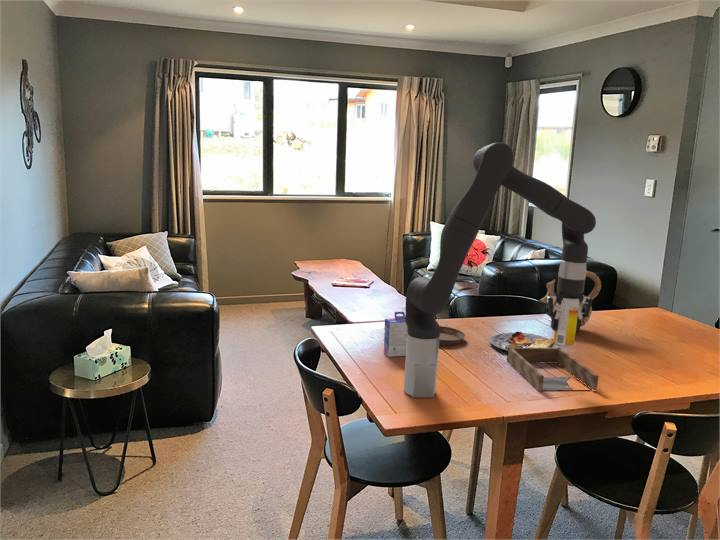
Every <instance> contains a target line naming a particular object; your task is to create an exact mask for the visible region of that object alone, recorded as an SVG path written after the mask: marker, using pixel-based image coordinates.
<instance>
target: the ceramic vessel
mask: <svg viewBox="0 0 720 540" xmlns="http://www.w3.org/2000/svg"><path fill="white" fill-rule="evenodd" d="M585 278H589V279H590V280H591V281H593V283H594V287H593V289H592V291H591V292H590V293H589V294H588V296H586V295H585V294H583V297H589V298H591V299H592V301H593V300H594V299H595V298H596V297H597V296H598V295H599V293H600V292H601V289H602V281H601V279H600V278H599V276H598V275H597V274H596V273H594V272H592V271H589V270H586V277H585ZM555 283H556V278H555V279H553V280H552V281H549V282H546V284H545V287H546V289H547V293H546V295H545V296H544V297H542V298H541V299H539V301H540V302H541V303H544V304H546V296H550V297H551V296H555V295H556V293H555ZM556 304H557V301H556V300H555V302H554V304H553V311H554V308H555V306H556ZM579 306H580V309H581V311H582V307H583V301H582V302H581V303H580V305H579ZM592 312H593V307H592V306H591V308H590V312H589V316H588V317H587V318H586V317H585V318H582V320H581V326H580V328H581V327H583V326H585V325H586V324H587V323H588V322H589V321H590V318H591V315H592ZM549 318H550V319H552V318H551V317H550V316H549Z"/></svg>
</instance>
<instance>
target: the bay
mask: <svg viewBox="0 0 720 540" xmlns="http://www.w3.org/2000/svg"><path fill="white" fill-rule="evenodd" d="M506 357H507V358H506V362H507V364H509V365H510V366H511V367H512V368H513V369H514V370H515V371H516V373H518V374H519V375H520V376H521V377H522V378H523V379H524V380H526V382H528V384H530V386H532V387H533V388H534V389H535V390H536V392H538V393H541V392H551V391H552V392H556V391H555V390H573V388H571V387H569V385H568V383H567V381H568V380H569V379H570V378H571V377H572V376H573V375H574V376H575V377H576V378H578V379H579V380H581V381H582V382H583V383H585V384H586V385H587V386H589V387H590V388H591V389H593V390H597V391H598V383H599V378H600V377H599V375H598V374H597V373H596V372H594V371H593V370H592V369H590V368H588V367H587V366H586V365H585V364H583V363H582V362H580V361H579V360H578V359H577V358H575V357H573V356H572V355H571V354H569V353H568V352H567V351H565V350H564V349H563V348H562V347H560V348H511V347H508V351H507V355H506ZM541 362H542V363H541ZM543 362H544V363H543ZM545 362H546V363H545ZM547 362H557V363H558V364H557V363H556V364H557V365H559V364H560V365H561V366H562V367H563V368H562V367H561V366H560V365H559V366H560V367H561V368H562V369H564V368H565V369H566V370H567V371H568V372H567V371H566V370H565V369H564V370H565V371H566V372H567V373H569V372H570V373H571V374H572V375H571V374H570V373H569V374H570V375H571V376H544V375H543V374H542V373H541V372H540V371H539V370H538V369H537V368H536V367H534V366H533V365H532V364H548V363H547ZM574 376H573V377H574ZM567 377H568V378H567ZM566 378H567V379H566ZM578 379H577V380H578ZM583 383H582V384H583ZM566 386H568V387H566Z"/></svg>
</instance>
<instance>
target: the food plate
mask: <svg viewBox="0 0 720 540" xmlns="http://www.w3.org/2000/svg"><path fill="white" fill-rule="evenodd" d="M488 342H489V343H490V344H492V345H493V346H495V347H496V348H498V349H500V350H504V351H505V352H508V347H511V348H523V347H525V348H561V347H559V346H557V345H555V343H554V342H553V338H547V337H545V336H543V335H537V334H534V333H533V334H532V333H526V332H522V331H515V332H502V333H499V334H496V335H494V336H490V337H489V339H488ZM527 345H530V346H527ZM504 347H505V348H504Z"/></svg>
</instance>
